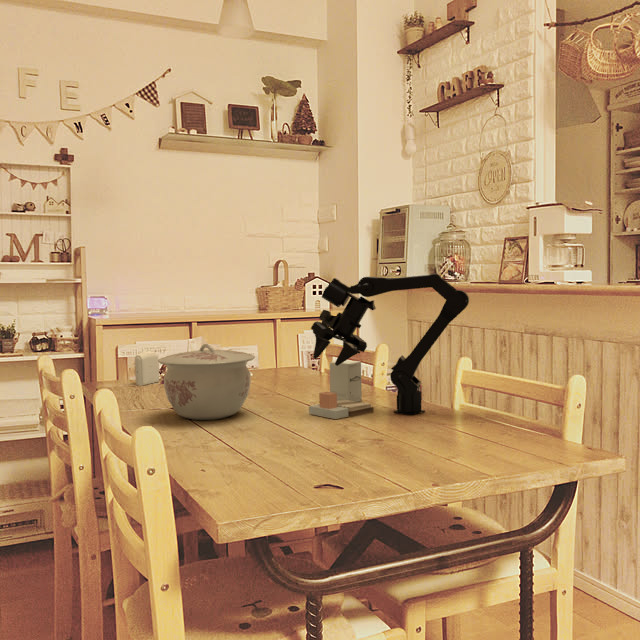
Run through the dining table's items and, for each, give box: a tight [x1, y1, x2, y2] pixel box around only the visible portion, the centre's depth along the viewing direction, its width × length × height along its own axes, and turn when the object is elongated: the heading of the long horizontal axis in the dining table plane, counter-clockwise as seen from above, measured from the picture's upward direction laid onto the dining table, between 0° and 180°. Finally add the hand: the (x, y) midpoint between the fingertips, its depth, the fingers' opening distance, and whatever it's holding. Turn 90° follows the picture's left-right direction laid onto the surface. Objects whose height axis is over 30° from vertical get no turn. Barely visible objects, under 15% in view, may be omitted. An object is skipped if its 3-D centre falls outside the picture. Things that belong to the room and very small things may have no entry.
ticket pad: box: [337, 400, 374, 418], centre depth 197 cm, size 12×9×2 cm
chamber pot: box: [158, 343, 256, 421], centre depth 196 cm, size 28×28×21 cm
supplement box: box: [329, 359, 362, 402], centre depth 213 cm, size 7×7×13 cm
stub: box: [308, 391, 349, 420], centre depth 192 cm, size 11×5×6 cm, turn 42°
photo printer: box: [134, 350, 160, 387], centre depth 260 cm, size 10×4×12 cm, turn 152°
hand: (325, 361), depth 199 cm, fingers open, 9 cm apart
